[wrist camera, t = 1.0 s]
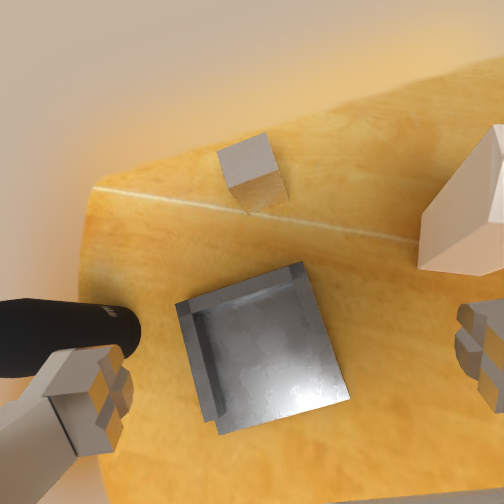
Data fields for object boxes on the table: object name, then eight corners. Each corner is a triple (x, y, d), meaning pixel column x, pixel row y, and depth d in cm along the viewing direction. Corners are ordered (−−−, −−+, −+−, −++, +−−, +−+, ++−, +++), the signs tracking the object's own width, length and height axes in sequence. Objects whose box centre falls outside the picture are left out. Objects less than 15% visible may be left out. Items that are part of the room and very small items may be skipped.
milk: (480, 276, 38) (668, 220, 17) (415, 269, 39) (513, 208, 18) (483, 217, 39) (666, 92, 18) (420, 212, 40) (518, 90, 19)
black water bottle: (89, 359, 45) (-350, 420, 16) (96, 304, 46) (-302, 271, 17) (138, 363, 44) (-246, 440, 15) (144, 307, 45) (-201, 276, 16)
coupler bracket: (349, 397, 38) (351, 405, 34) (221, 432, 40) (209, 444, 36) (305, 266, 42) (302, 261, 38) (189, 305, 44) (175, 303, 40)
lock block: (289, 200, 43) (278, 169, 35) (248, 215, 44) (227, 188, 35) (278, 168, 44) (265, 130, 36) (239, 183, 45) (216, 150, 36)
